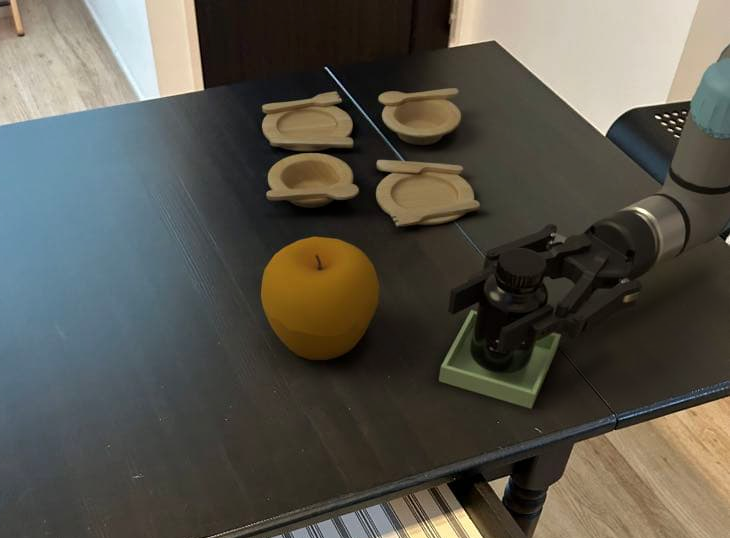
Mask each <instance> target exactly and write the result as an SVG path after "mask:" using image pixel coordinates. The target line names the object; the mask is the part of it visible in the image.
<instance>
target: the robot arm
mask: <svg viewBox="0 0 730 538" xmlns="http://www.w3.org/2000/svg"><path fill="white" fill-rule="evenodd" d="M729 229H730V43H729V44H728V45H726V47H724V49H723V50H722V51H721V52H720V55H719V57H718V59H717V60H716V62H714V63H712V64H710V65H709V66H707V68H706V70H705V71H704V72H703V74H702V77H701V79H700V81H699V84H698V86H697V87H696V90H695V92H694V93H693V95H692V97H691V101H690V104H689V110H688V113H687V116H686V119H685V122H684V125H683V128H682V131H681V134H680V136H679V140H678V143H677V146H676V149H675V152H674V155H673V157H672V160H671V161H670V164H669V167H668V171H667V173H666V176H665V178H664V183H663V185H662V187H661V189H660V190H659V191H657V192H654V193H653V194H650V195H649V196H647V197H645V198H643V199H641V200H639V201H637V202H634V203H633V204H629V205H628V206H626V207H624V208H621V209H620V210H618V211H616V212H614V213H612V214H609V215H608V216H605V217H603V218H601V219H599V220H597V221H595V222H594V223H593V224H592V225H590V226H589V227H588V228H587V229H586V230H585V231H584V232H583V233H580V234H574V235H570V236H568V237H566V236H564V235H561V234H559V233H557V230H558V226H557V225H556V224H554V223H549V224H547V225H545V226H544V227H543V228H542V229H541V230H539V231H538V232H537V231H536V232H534V233H532V234H529V235H526V236H524V237H521V238H518V239H515V240H513V241H510V242H507V243H504V244H501V245H499V246H495V247H494V248H490V249H487V251H486V252H485V257H484V264H483V269H481V270H479V271H478V272H476V273H474V274H472V275H470V276H469V278H468V281H466V282H464V283H462V284H460V285H458V286H456V287H454V288H452V289H451V290H450V296H449V300H448V309H447V312H449V314H451V315H453V316H454V315H455V314H457V313H460V312H462V311H463V310H465V309H468V308H469V307H472V306H474V305H476V304H477V303H478V304H479V300H480V295H481V290H482V287H483V284H484V282H485V281H486V280H487V279H488V277H490V276H491V275H492V274H494V273H495V268H496V266H497V263H498V258H499V256H500V255H501V254H502V253H503V252H504V251H506V250H509V249H513V248H525V249H529V250H533V251H535V252H537V253H539V254H540V255H541V256H543V258H544V259H545V261H546V271H545V274H544V278H549V279H550V280H558V279H563V278H565V279H567V280H569V281H571V282H572V283H573V285H574V286H573V287H572V288H571V289H570V291H569V292H568V293H567V294H566V296H564V298H563V300H561V301H560V300H559V301H558V303H557V305H556V309H555V307H554V306H552V305H551V304H550V303H547V305H546V306H544V307H542V308H540V309H538V310H536V311H534V312H532V313H530V314H528V315H526V316H525V317H523V318H521V319H519V320H517V321H515V322H513V323H511V324H509V325H507V326H505V327H503V328H501V333H500V337H499V342H498V346H497V350H498V351H499V352H500V353H501V354H503V353H505V352H506V351H508V350H510V349H512V348H514V347H516V346H518V345H520V344H521V343H523V342H525V341H527V340H529V339H532V340H533V341H538V340H541V339H542V338H544V337H546V336H548V335H550V334H552V333H561V332H565V333H568V337H569V338H570V339H572V340H578V339H580V338H581V337H583V336H585V335H586V334H587V333H589V332H590V331H592V330H593V329H595V328H596V327H598V326H599V325H600V324H602V323H603V322H605V320H607V319H608V318H610V317H611V316H613V315H614V314H615V313H617V312H618V311H620V310H623V309H627V308H630V307H634V306H635V305H636V303H637V301H638V297H639V295H640V292H641V290H642V287H643V282H642V281H641V280H638V279H639V278H640V277H642V276H645V274H647V273H649V272H651V271H653V270H655V269H657V268H659V267H660V266H663V265H665V264H666V263H668V262H670V261H672V260H674V259H676V258H678V257H679V256H680V255H682V254H684V253H686V252H688V251H691V250H692V249H694V248H696V247H699V246H701V245H703V244H707V243H709V242H711V241H713V240H715V239H716V238H717V237H719V236H720V235H721V234H723V233H724V232H726V231H727V230H729ZM598 290H607V291H606V292H604V293H603V294H602V295H600V296H599V297H597V298H596V299H594V300H593V301H591V302H590V303H588V304H587V305H585V306H584V307H583V308H582V306H583V305H584V304H585V303H586V302H588V301H589V300H590V298H591V297H592V296H593V295H594V293H595V292H597V291H598ZM554 310H555V311H554Z"/></svg>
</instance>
